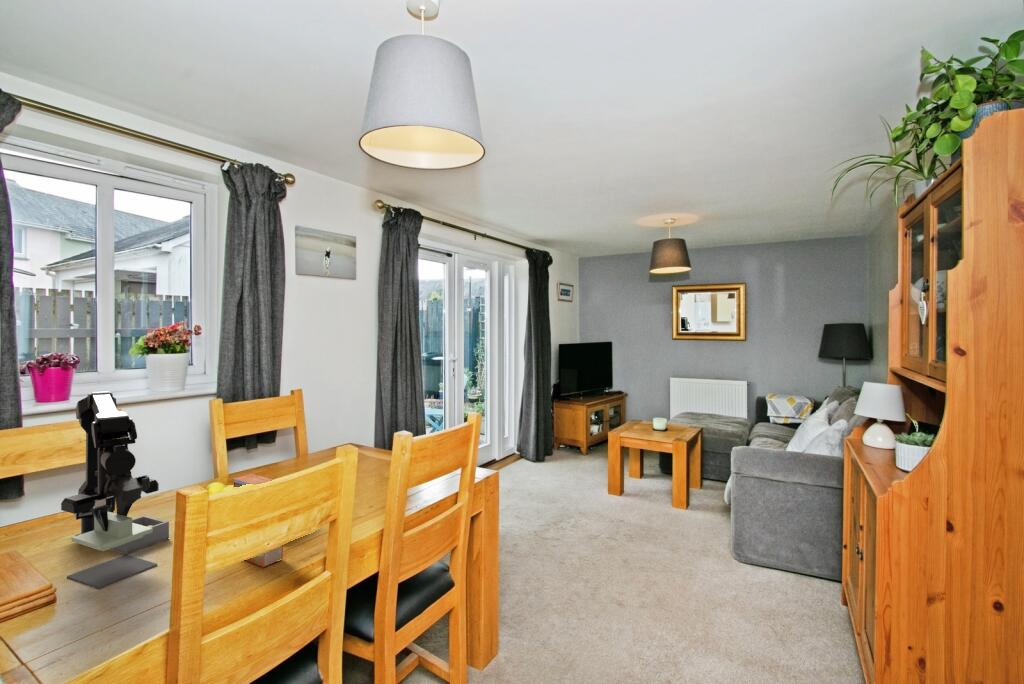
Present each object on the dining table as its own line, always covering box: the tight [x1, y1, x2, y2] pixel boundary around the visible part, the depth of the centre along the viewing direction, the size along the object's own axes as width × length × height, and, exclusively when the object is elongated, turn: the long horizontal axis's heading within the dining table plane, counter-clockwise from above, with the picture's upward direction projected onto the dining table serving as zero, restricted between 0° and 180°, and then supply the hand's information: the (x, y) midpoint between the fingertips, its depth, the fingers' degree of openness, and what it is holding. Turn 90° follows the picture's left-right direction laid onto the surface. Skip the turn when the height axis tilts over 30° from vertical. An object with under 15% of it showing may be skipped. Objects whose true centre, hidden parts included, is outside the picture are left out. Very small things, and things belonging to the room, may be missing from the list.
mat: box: [66, 554, 158, 590], centre depth 125 cm, size 13×13×1 cm
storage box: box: [109, 514, 170, 555], centre depth 141 cm, size 11×11×5 cm
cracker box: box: [233, 473, 284, 568], centre depth 134 cm, size 14×6×21 cm, turn 58°
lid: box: [71, 512, 153, 552], centre depth 125 cm, size 12×12×6 cm
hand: (113, 528), depth 125 cm, fingers closed on lid, 3 cm apart
